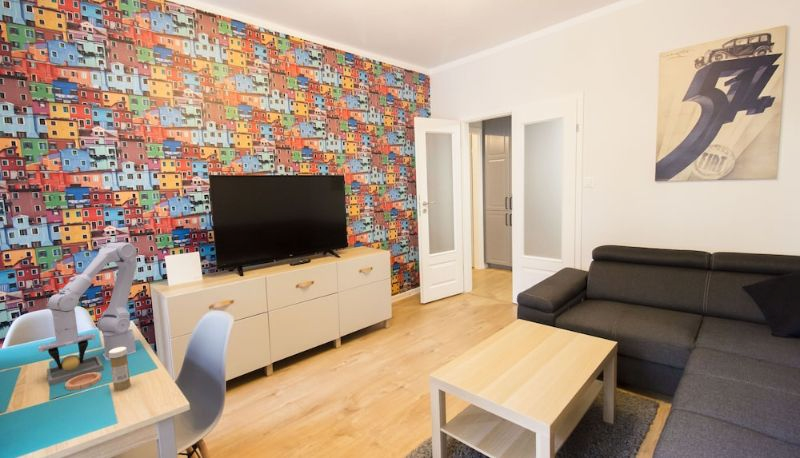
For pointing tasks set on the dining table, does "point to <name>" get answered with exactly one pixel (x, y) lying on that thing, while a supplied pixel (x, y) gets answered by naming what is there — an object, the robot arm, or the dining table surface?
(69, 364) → the ball
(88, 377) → the copper shallow bowl
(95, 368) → the tray
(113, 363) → the sprinkles bottle
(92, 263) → the robot arm
